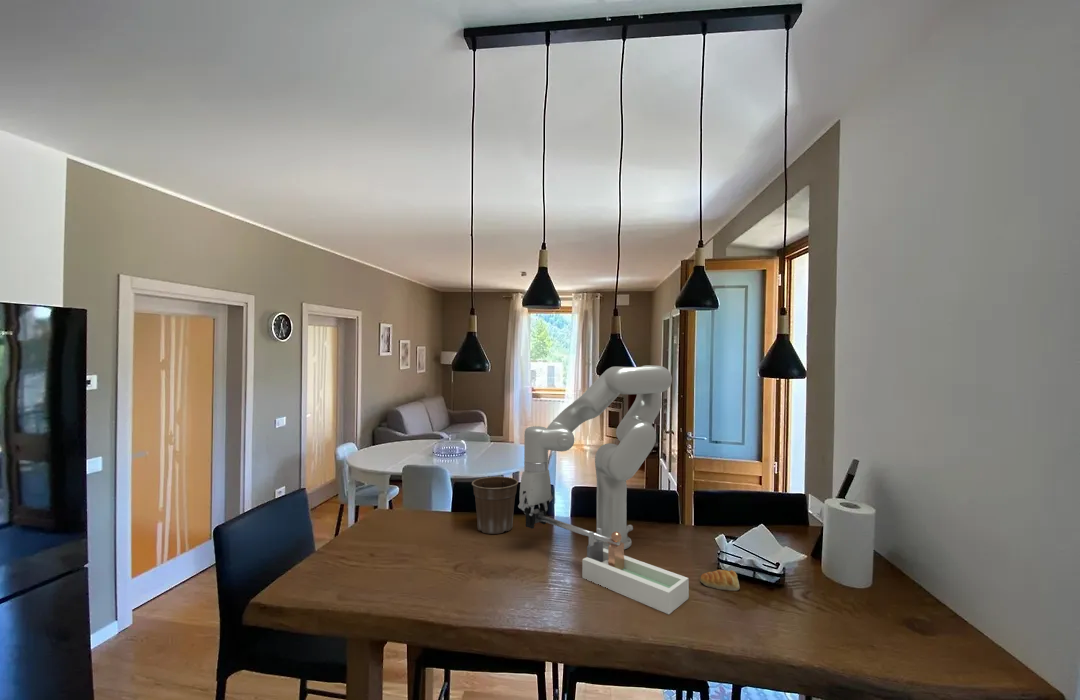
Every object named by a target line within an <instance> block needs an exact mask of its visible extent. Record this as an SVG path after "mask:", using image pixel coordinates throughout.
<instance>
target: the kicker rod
mask: <svg viewBox="0 0 1080 700" xmlns="http://www.w3.org/2000/svg"><path fill="white" fill-rule="evenodd" d="M533 515H534V525H535V524H540V523H539V522H541V521H543V522H546V524H549V525H553V526H555V527H558V528H562V529H564V530H567V531H570V532H573V533H575V534H579V535H582V536H584V537H588V538H589V532H590V531H591V530H589V529H585V528H582V527H579V526H576V525H572V524H570V523H567V522H564V521H561V520H558V519H555V518H552V517H549V516H547V515H546V516H544V511H543V510H540V509H539V508H534V511H533ZM594 539H596V540H599V541H602V542H605V543H608V544H611V545H609V546H608V565H610V566H612V567H615V568H617V569H620V570H622V569H623V568H624V555H625V549H624V543H622V542H620V541H621V539H622V536H621V534H620V533H619V532H617V531H615V532H613V533H612V534H611V538H610V537H607V536H603V535H600V534H597V532H594Z"/></svg>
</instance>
